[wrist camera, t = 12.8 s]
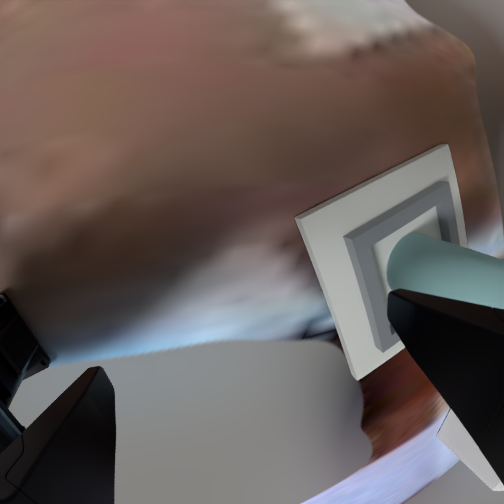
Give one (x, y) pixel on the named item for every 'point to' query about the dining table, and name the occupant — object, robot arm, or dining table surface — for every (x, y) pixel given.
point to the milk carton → (467, 450)
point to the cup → (446, 271)
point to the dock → (378, 246)
